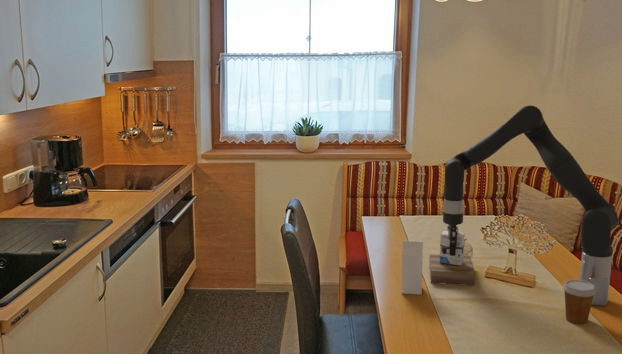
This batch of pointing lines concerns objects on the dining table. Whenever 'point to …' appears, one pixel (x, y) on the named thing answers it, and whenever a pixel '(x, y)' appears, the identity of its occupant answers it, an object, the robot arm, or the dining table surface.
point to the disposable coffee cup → (578, 300)
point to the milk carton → (412, 267)
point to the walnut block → (451, 271)
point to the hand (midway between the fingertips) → (451, 252)
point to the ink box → (445, 249)
